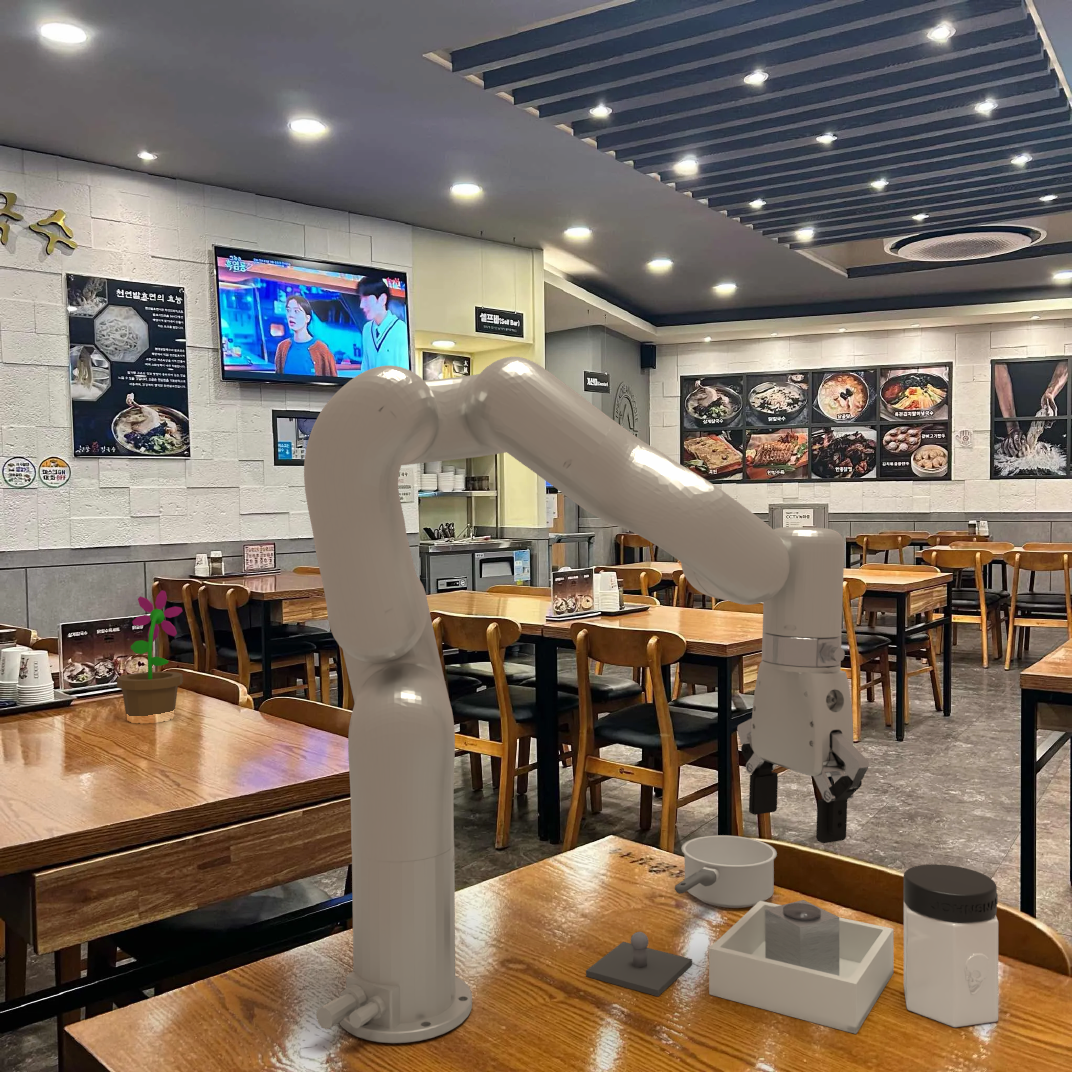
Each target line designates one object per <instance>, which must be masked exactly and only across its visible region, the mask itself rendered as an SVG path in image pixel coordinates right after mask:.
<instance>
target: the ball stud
mask: <svg viewBox="0 0 1072 1072" xmlns="http://www.w3.org/2000/svg"><path fill="white" fill-rule="evenodd" d="M648 946H649V937H648V936H647V934H646V933H644V932H643V931H637V932H635V933H633V934H632V935H631V938H630V943H629V942H626V941H622V942H621V943H619V944H618V945H617V946H616V947H614V948H613V949H612V950H611V951H609V952H608V953H606V954H605V955H604V956H603V957H601V958H600V959H598V960H597V961H596V962H595V963H593V964H592V965H591V966H590V967H588V968H587V969H586V970H585V976H586V977H587V978H591V979H594V980H598V981H601V982H605V983H609V984H612V985H616V986H619V987H623V988H626V989H629V990H632V991H637V992H641V993H644V994H647V995H652V996H655V997H659V996H661V994H662V993H664V992H665V991H666V990H667V989H669V987H670V986H671V985H673V983H675V982H676V980H677V979H679V978H680V977H681V976H682V975H683V974H684V973H685V972H686V971H687V970H688V969H689V968H691V966H693V959H692V958H690V957H687V956H682V955H677V954H674V953H669V952H667V951H661V950H658V949H654V948H649V947H648Z"/></svg>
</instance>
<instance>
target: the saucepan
mask: <svg viewBox="0 0 1072 1072" xmlns="http://www.w3.org/2000/svg"><path fill="white" fill-rule="evenodd" d="M681 851H682V853H683V854H684V879H683V880H682V881H680V882H679V883H677V884H676V885H674V890H675V892H676V893H678V894H681V895H682V894H684V893H686V892H688V893H689V894H690V895H692V896H693V897H695V898H697V899H698V900H699V901H702V902H703V903H704V904H705V903H706V904H709V905H710V906H711V905H712V906H715V907H722V908H727V909H729V908H730V909H732V908H733V909H739V908H740V909H742V908H749V907H754V906H755V905H756V904H757V903H758V902H759V901H764V902H765V901H766V900H768V899H770V898H771V897H772V896H773V895H774V892H775V885H774V882H775V878H774V874H775V871H774V870H775V869H774V867H775V866H774V861H775V859H776V857H778V855H777V854H778V853H777V849H775V848H774V847H773V846H772V845H770V844H768V843H766V842H763V841H761V840H757V839H754V838H750V837H745V836H739V835H727V834H725V835H724V834H722V835H721V834H720V835H705V836H700V837H695V838H692V839H689V840H687V841H685V842H684V843H682V846H681Z"/></svg>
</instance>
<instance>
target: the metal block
mask: <svg viewBox="0 0 1072 1072" xmlns="http://www.w3.org/2000/svg"><path fill="white" fill-rule="evenodd" d="M779 905H780V906H776V907H772V908H768V909H765V958H767V959H772V960H776V961H780V962H784V963H788V964H792V965H796V966H800V967H805V968H809V969H813V970H817V971H821V972H825V973H829V974H834V975H838V976H839V916H838V915H836V914H834V913H831V912H830V911H827V910H825V909H823V908H821V907H819V906H817V905H814V904H813V903H811V902H809V901H806V900H805V899H802V900H797V901H794V902H789V903H785V904H779Z"/></svg>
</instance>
